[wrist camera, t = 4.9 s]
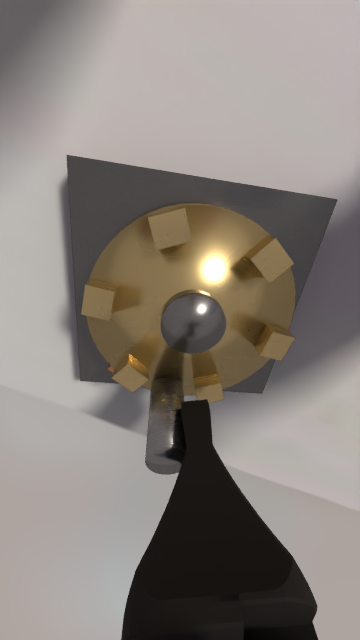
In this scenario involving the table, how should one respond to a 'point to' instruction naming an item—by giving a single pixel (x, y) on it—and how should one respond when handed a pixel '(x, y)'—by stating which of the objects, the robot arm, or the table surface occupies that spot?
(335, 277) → the table surface
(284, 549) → the robot arm
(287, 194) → the base plate
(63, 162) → the table surface
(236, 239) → the gold round piece
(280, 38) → the table surface
